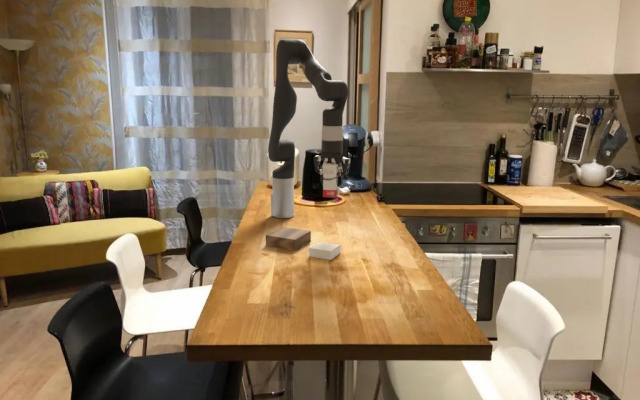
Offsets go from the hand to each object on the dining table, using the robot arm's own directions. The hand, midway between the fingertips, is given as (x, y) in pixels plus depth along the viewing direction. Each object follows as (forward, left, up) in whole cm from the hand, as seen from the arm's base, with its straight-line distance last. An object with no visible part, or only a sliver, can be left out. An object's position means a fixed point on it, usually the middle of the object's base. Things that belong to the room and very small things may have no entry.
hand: (331, 185), depth 185 cm
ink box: (0, 0, -4) cm, 4 cm away
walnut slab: (-13, -9, -21) cm, 26 cm away
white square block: (+4, -14, -21) cm, 26 cm away
